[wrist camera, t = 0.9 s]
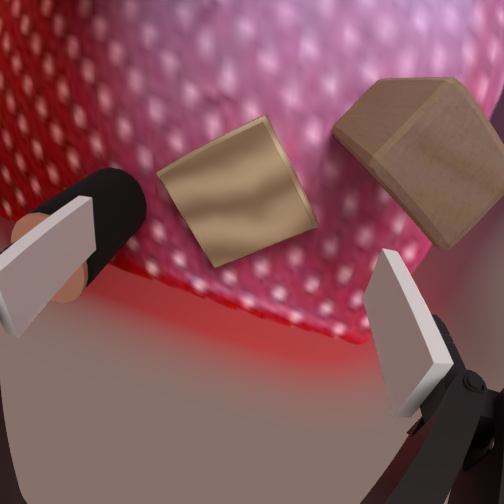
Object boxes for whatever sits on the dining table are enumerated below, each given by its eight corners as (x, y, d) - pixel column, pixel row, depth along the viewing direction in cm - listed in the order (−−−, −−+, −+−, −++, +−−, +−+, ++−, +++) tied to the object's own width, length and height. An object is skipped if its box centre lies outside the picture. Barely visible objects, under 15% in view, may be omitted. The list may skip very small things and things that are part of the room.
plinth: (165, 166, 41) (154, 174, 38) (266, 113, 37) (264, 116, 33) (218, 256, 47) (213, 271, 43) (316, 216, 42) (318, 229, 39)
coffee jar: (94, 155, 41) (10, 200, 25) (157, 180, 42) (89, 239, 26) (83, 217, 46) (12, 279, 30) (140, 243, 47) (82, 318, 31)
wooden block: (381, 183, 39) (445, 260, 22) (327, 130, 37) (366, 169, 19) (431, 132, 35) (525, 176, 18) (379, 75, 33) (460, 72, 15)
